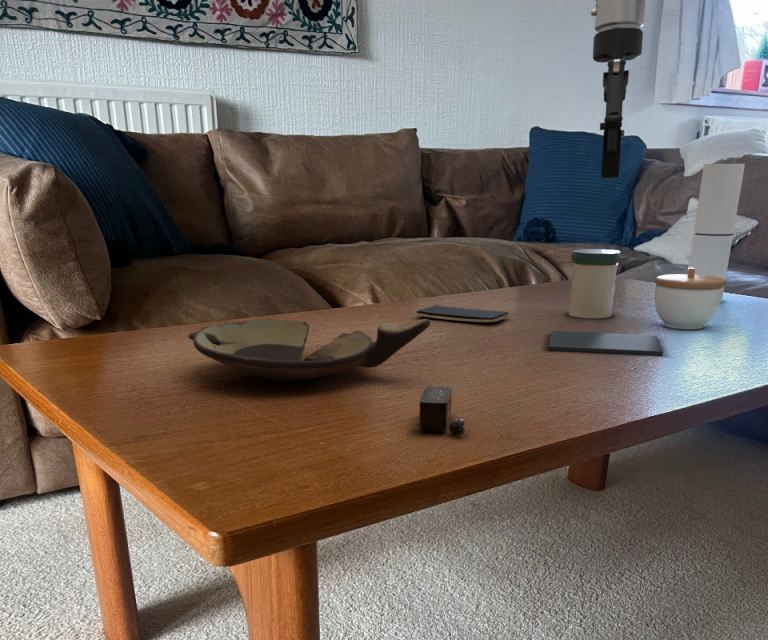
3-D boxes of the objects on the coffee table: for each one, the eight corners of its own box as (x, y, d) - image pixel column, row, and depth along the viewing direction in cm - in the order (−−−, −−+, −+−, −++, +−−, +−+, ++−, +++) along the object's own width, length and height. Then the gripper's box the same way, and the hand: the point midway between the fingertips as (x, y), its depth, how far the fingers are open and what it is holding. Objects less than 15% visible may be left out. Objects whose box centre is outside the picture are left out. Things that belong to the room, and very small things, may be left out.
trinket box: (655, 318, 138) (662, 263, 134) (720, 323, 133) (729, 266, 130) (645, 329, 129) (652, 270, 125) (714, 334, 125) (724, 273, 121)
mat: (656, 339, 121) (656, 335, 121) (662, 355, 111) (663, 351, 111) (551, 334, 125) (551, 330, 125) (548, 350, 114) (548, 346, 114)
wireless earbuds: (417, 435, 78) (417, 404, 77) (425, 415, 84) (426, 386, 83) (463, 438, 77) (465, 406, 76) (468, 417, 84) (470, 387, 82)
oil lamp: (270, 347, 116) (267, 295, 113) (447, 374, 101) (448, 313, 98) (154, 379, 99) (147, 318, 96) (346, 416, 84) (344, 345, 81)
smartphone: (434, 305, 144) (510, 311, 137) (434, 311, 145) (509, 318, 137) (415, 310, 138) (492, 318, 131) (415, 317, 139) (492, 325, 132)
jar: (610, 312, 144) (617, 253, 140) (612, 319, 137) (619, 257, 133) (568, 310, 146) (574, 252, 141) (567, 317, 139) (573, 256, 135)
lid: (618, 260, 140) (619, 249, 140) (620, 265, 133) (621, 254, 132) (571, 259, 142) (572, 248, 141) (571, 264, 135) (572, 253, 134)
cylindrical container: (679, 301, 155) (699, 163, 145) (689, 296, 161) (709, 163, 151) (716, 304, 152) (740, 163, 142) (725, 299, 157) (748, 163, 147)
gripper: (595, 47, 136) (588, 179, 143) (592, 16, 113) (584, 175, 121) (640, 42, 134) (631, 177, 141) (646, 10, 111) (635, 172, 119)
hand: (610, 176), depth 131 cm, fingers open, 13 cm apart
